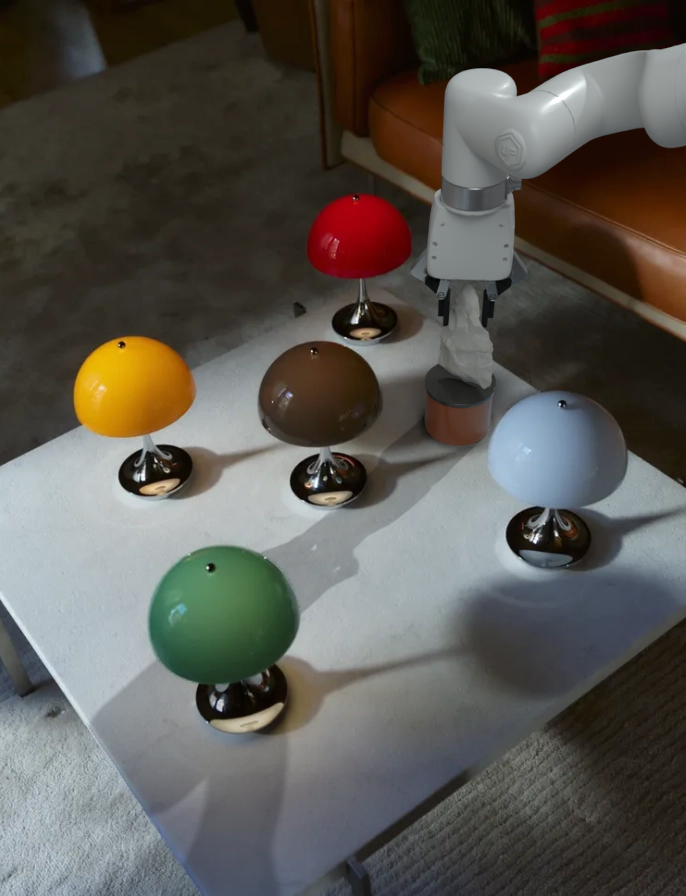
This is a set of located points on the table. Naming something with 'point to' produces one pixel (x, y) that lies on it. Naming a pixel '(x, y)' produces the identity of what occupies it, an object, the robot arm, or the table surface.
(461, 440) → the canister
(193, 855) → the table surface
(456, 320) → the stone tool
